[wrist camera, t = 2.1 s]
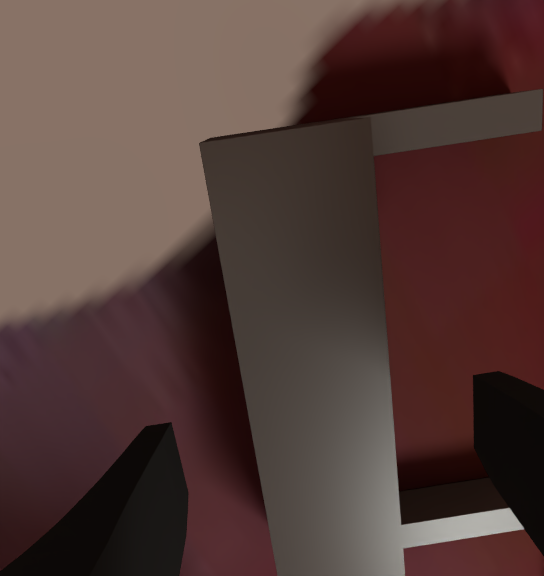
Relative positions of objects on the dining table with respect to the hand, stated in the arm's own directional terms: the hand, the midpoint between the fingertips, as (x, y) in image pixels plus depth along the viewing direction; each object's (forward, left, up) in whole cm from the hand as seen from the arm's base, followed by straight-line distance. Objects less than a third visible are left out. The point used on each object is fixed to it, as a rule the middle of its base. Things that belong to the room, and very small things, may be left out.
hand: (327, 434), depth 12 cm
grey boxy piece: (+3, 0, -4) cm, 5 cm away
